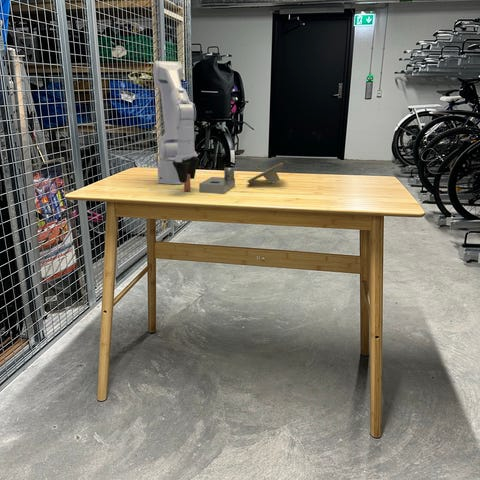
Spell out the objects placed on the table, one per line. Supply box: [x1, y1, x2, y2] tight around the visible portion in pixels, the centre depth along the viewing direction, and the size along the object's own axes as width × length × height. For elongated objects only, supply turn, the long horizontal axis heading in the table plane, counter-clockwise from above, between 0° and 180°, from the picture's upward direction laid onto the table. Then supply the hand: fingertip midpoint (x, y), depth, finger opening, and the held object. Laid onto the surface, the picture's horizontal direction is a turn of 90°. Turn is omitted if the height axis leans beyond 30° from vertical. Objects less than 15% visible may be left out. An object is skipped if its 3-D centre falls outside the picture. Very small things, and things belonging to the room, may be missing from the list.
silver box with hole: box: [198, 167, 236, 195], centre depth 152 cm, size 9×14×7 cm, turn 165°
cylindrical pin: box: [183, 174, 191, 193], centre depth 148 cm, size 2×2×6 cm
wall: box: [246, 162, 284, 184], centre depth 162 cm, size 16×9×15 cm
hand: (187, 180), depth 147 cm, fingers open, 7 cm apart
